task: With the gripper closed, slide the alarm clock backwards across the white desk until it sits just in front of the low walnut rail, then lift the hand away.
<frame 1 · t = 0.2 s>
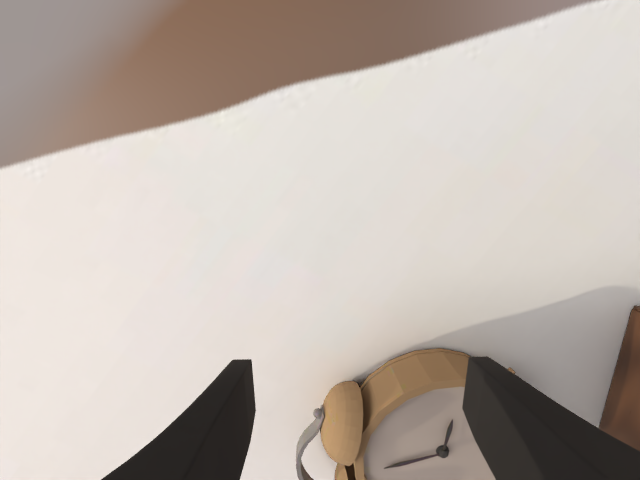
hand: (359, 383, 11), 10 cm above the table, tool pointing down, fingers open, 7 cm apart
back rail: (615, 414, 23), on the table
alarm clock: (399, 414, 24), on the table
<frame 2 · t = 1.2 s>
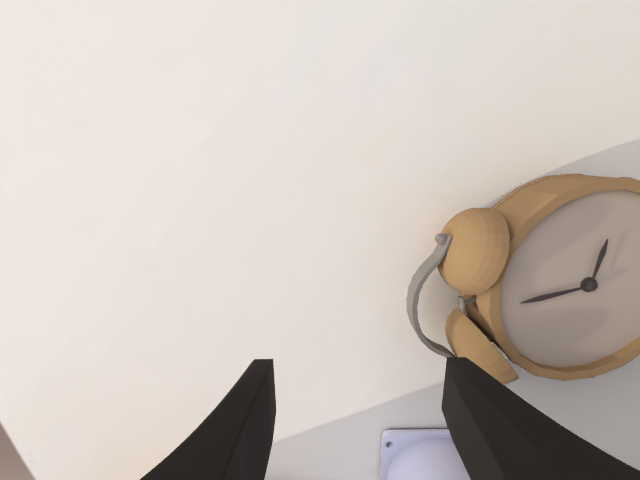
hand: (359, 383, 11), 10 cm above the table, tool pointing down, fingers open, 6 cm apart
alarm clock: (515, 269, 20), on the table
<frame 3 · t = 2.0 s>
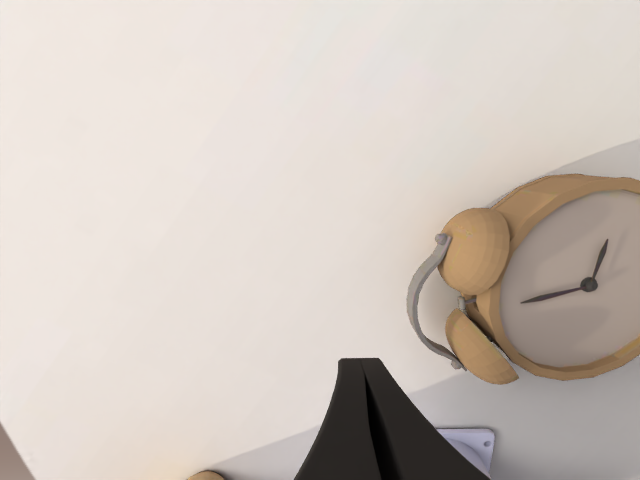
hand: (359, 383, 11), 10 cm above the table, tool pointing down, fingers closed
alarm clock: (515, 269, 20), on the table
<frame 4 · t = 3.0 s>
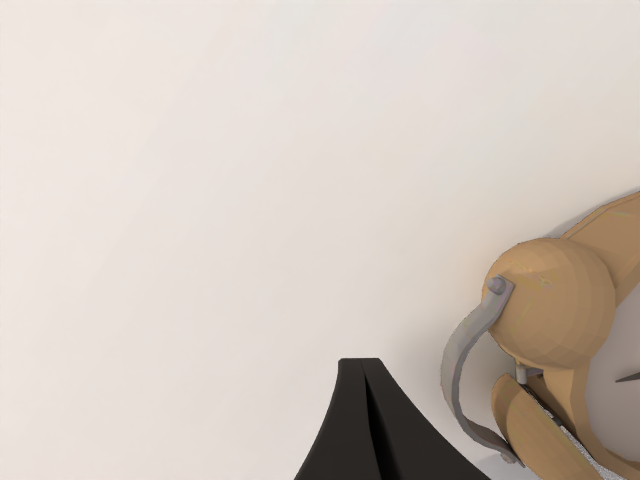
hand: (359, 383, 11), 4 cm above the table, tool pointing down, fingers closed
alarm clock: (586, 316, 15), on the table
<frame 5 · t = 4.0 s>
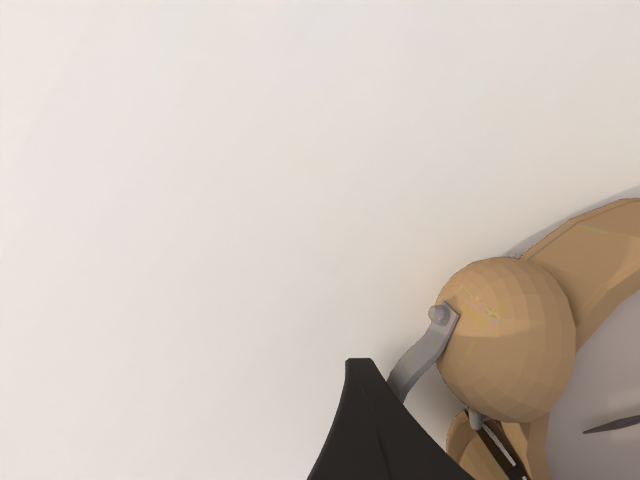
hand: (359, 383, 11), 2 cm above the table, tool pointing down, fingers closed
alarm clock: (558, 344, 13), on the table, touching gripper
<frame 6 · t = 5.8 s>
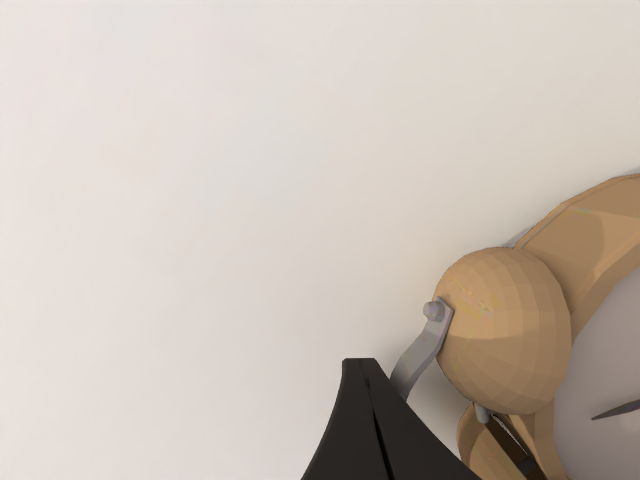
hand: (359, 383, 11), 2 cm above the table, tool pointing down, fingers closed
alarm clock: (564, 329, 13), on the table, touching gripper
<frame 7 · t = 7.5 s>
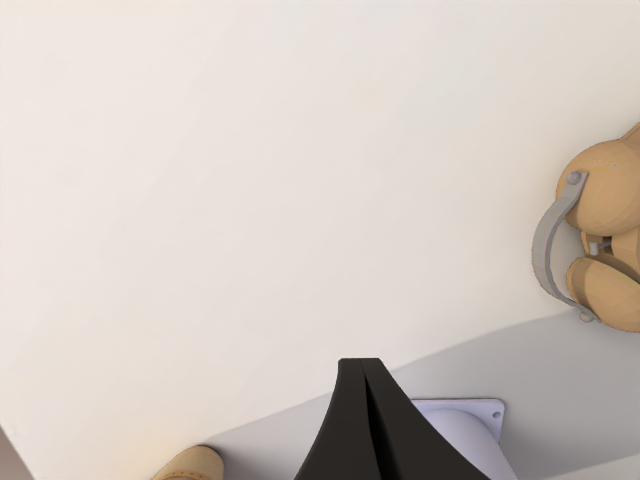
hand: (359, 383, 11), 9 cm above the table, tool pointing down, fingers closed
alarm clock: (635, 212, 19), on the table
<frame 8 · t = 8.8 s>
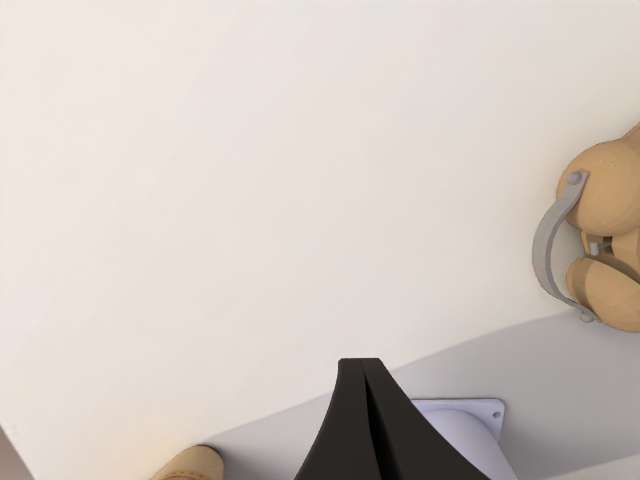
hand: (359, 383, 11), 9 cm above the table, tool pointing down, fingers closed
alarm clock: (636, 212, 19), on the table
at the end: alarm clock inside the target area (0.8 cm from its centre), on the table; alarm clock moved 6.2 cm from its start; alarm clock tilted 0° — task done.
